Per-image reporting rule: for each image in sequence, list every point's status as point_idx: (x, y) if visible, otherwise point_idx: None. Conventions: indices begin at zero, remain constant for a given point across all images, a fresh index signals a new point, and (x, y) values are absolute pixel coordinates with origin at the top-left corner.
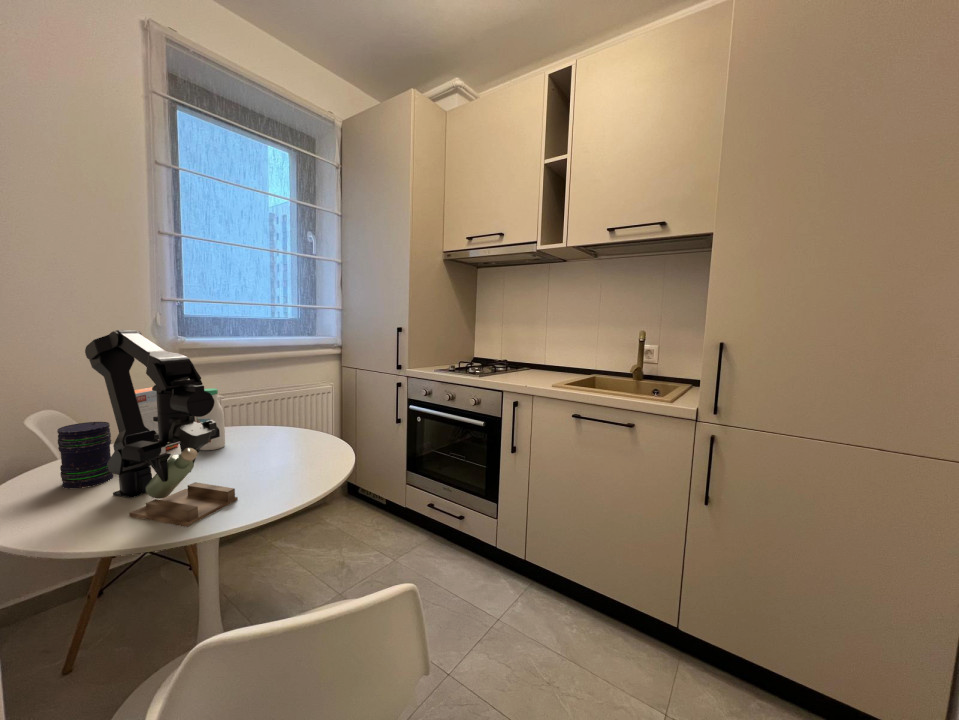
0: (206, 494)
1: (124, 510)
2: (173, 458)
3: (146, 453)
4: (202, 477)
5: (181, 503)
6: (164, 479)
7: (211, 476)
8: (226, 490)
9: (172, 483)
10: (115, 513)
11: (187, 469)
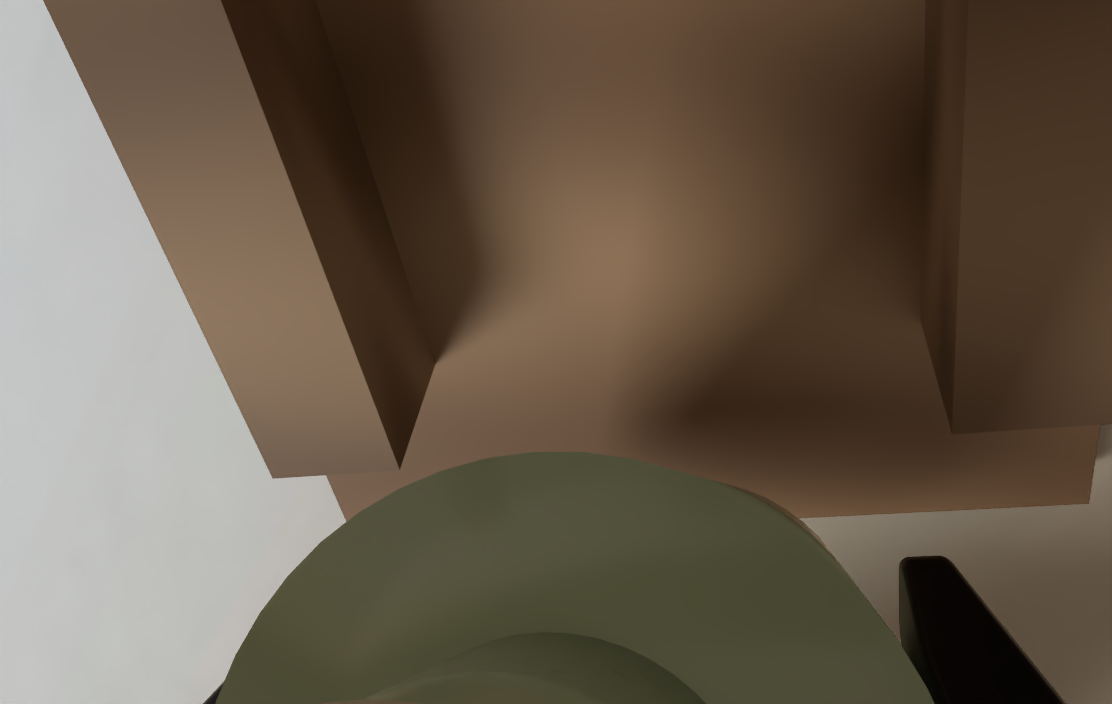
0: (301, 55)
1: None
2: None
3: None
4: (93, 649)
5: (637, 200)
6: (984, 609)
7: (12, 604)
8: None
9: (748, 494)
10: (1048, 626)
11: (493, 553)
